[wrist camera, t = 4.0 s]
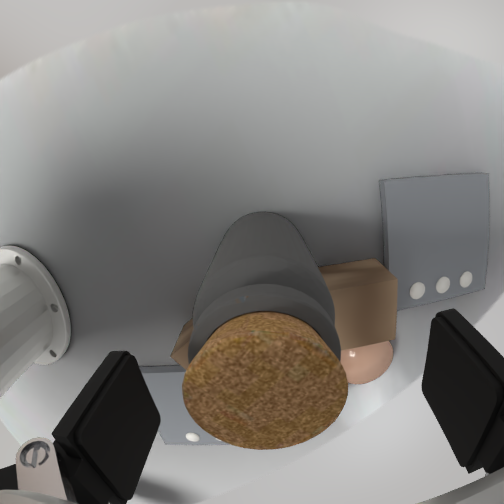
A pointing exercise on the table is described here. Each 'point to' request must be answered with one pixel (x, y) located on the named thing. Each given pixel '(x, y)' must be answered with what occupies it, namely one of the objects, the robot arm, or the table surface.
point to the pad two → (174, 407)
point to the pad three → (436, 235)
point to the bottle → (264, 341)
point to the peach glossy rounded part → (366, 362)
